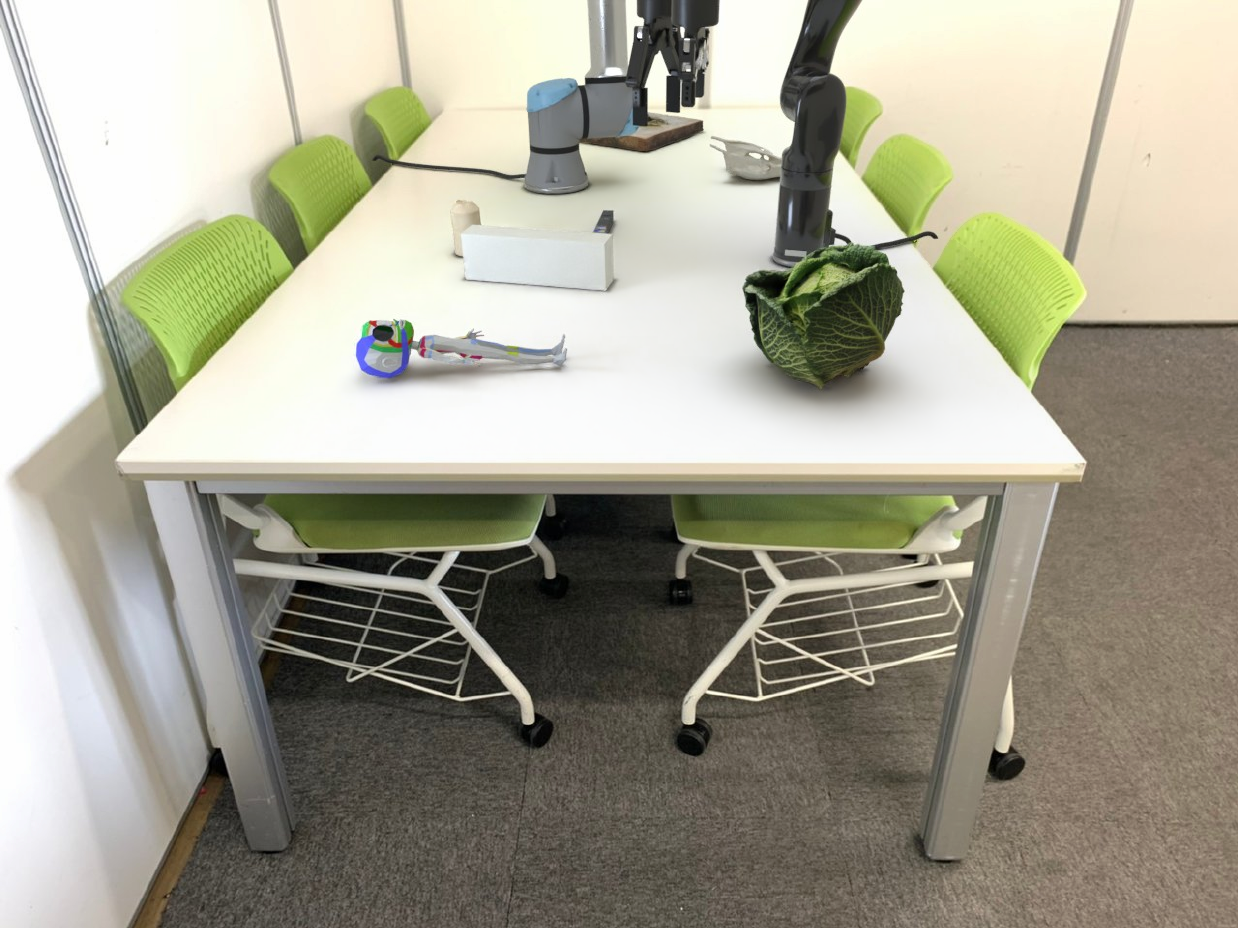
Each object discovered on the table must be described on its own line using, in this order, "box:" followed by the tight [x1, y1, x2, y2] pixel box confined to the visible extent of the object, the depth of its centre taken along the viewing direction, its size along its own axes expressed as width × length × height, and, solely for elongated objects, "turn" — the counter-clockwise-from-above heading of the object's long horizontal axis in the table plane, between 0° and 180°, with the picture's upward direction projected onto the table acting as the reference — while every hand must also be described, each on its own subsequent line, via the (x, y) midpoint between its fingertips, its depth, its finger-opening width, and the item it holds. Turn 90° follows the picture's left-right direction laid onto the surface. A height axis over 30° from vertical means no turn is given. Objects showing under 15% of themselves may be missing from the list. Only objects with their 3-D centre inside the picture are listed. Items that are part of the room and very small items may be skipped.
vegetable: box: [742, 241, 906, 390], centre depth 125 cm, size 20×19×20 cm
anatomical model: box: [709, 135, 782, 181], centre depth 217 cm, size 15×9×25 cm
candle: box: [449, 199, 482, 257], centre depth 172 cm, size 6×6×10 cm
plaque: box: [579, 111, 705, 152], centre depth 257 cm, size 30×7×30 cm
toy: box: [353, 318, 568, 379], centre depth 130 cm, size 10×8×30 cm
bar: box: [461, 224, 614, 292], centre depth 160 cm, size 26×5×8 cm, turn 76°
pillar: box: [592, 209, 615, 234], centre depth 182 cm, size 2×2×20 cm
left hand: (657, 119), depth 170 cm, fingers open, 13 cm apart
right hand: (692, 102), depth 148 cm, fingers open, 8 cm apart
